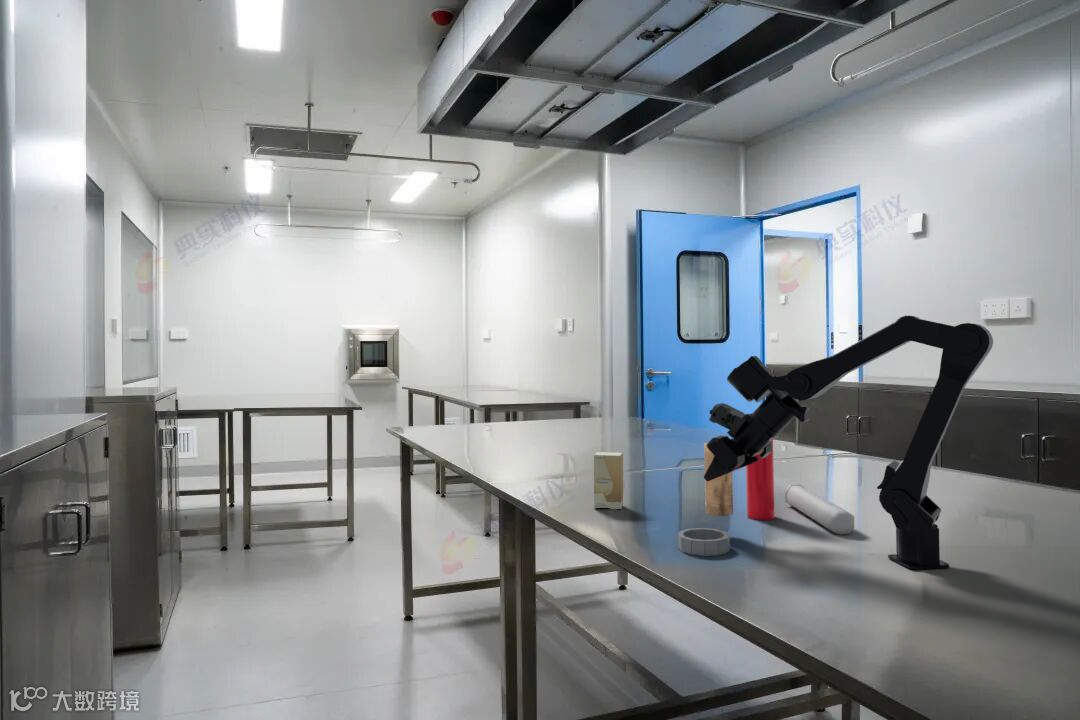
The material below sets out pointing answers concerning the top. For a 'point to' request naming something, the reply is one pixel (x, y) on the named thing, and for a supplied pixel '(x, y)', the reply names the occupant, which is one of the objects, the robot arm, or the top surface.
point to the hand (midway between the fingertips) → (711, 477)
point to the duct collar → (704, 541)
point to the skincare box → (608, 480)
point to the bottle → (761, 488)
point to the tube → (819, 509)
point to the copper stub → (717, 490)
